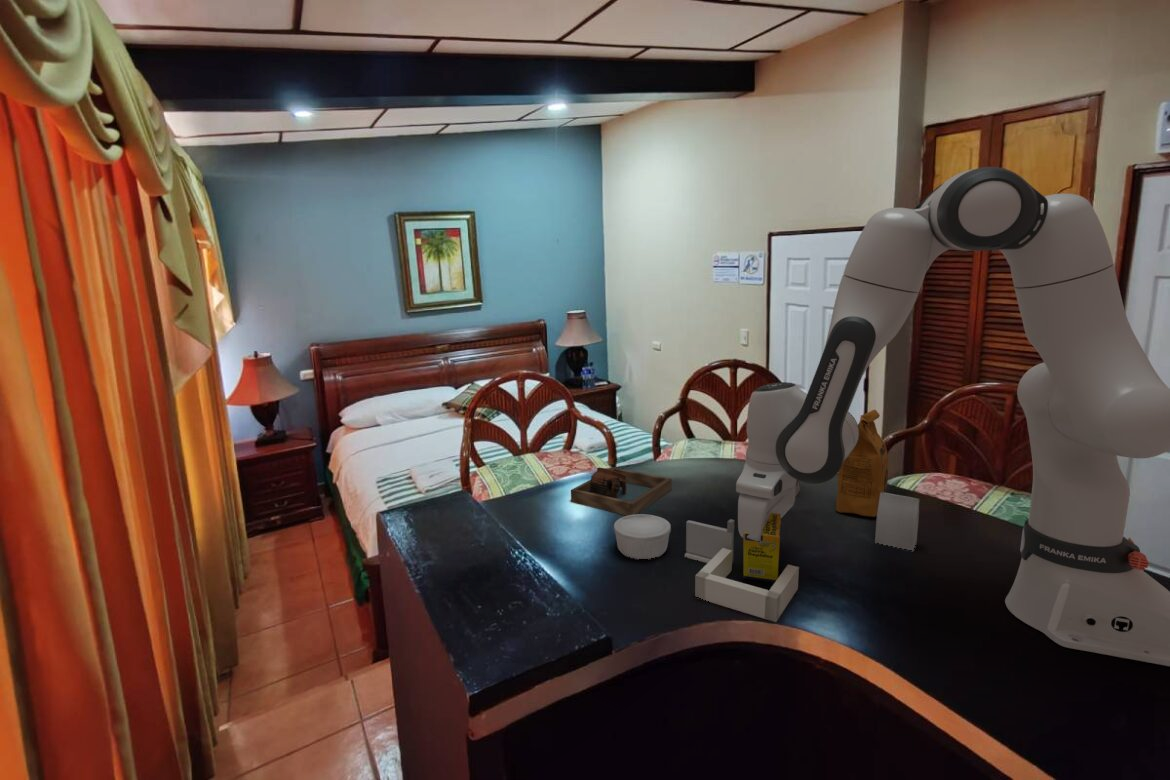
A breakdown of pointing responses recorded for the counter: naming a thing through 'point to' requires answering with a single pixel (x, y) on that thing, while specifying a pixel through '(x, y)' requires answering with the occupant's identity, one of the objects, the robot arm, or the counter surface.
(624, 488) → the pottery mug
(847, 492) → the coffee package
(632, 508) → the frame
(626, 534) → the ramekin
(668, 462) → the counter surface
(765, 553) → the supplement box
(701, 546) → the plate
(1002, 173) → the robot arm
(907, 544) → the grey rectangular block
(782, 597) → the white handled frame
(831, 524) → the counter surface
